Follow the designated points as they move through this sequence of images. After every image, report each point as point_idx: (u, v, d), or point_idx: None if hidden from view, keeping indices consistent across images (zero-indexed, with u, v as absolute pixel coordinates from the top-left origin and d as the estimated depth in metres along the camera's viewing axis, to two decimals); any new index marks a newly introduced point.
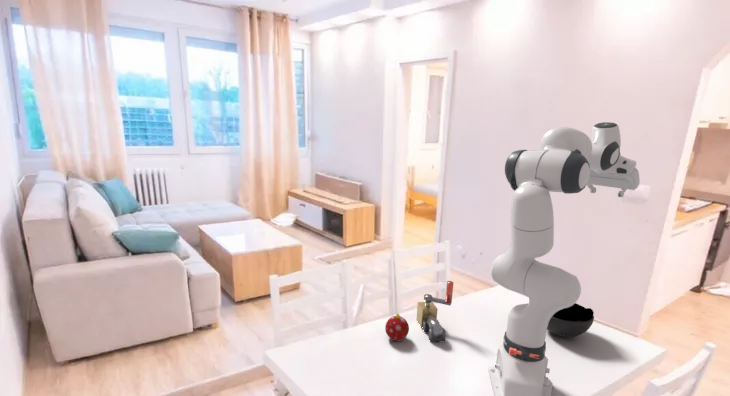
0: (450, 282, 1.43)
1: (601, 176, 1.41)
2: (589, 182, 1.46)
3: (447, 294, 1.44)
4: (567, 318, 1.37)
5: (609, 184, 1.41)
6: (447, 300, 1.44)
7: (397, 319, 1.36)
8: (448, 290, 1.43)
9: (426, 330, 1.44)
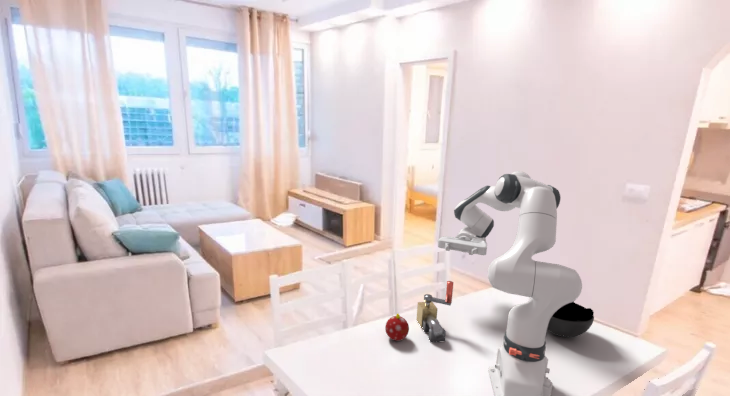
0: (450, 282, 1.43)
1: (460, 240, 1.61)
2: (449, 240, 1.60)
3: (447, 294, 1.44)
4: (567, 318, 1.37)
5: (465, 243, 1.58)
6: (447, 300, 1.44)
7: (397, 319, 1.36)
8: (448, 290, 1.43)
9: (426, 330, 1.44)
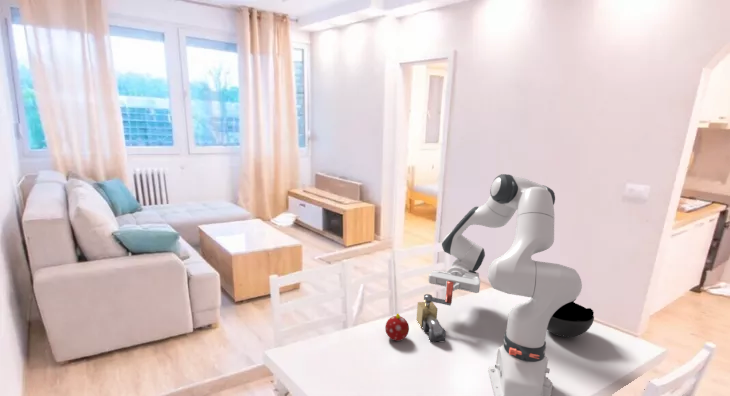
0: (450, 282, 1.43)
1: (452, 276, 1.53)
2: (440, 276, 1.52)
3: (447, 294, 1.44)
4: (567, 318, 1.37)
5: (457, 279, 1.49)
6: (447, 300, 1.44)
7: (397, 319, 1.36)
8: (448, 290, 1.43)
9: (426, 330, 1.44)
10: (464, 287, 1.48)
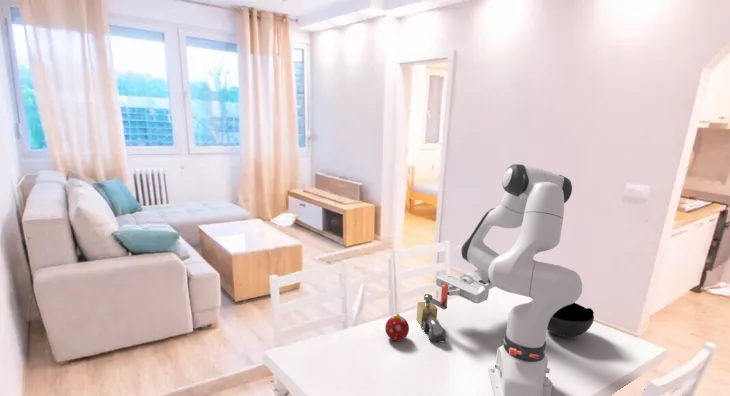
0: (445, 285, 1.40)
1: (460, 282, 1.48)
2: (446, 279, 1.49)
3: (441, 297, 1.41)
4: (567, 318, 1.37)
5: (460, 286, 1.44)
6: (441, 303, 1.41)
7: (397, 319, 1.36)
8: (442, 293, 1.40)
9: (426, 330, 1.44)
10: (465, 295, 1.41)
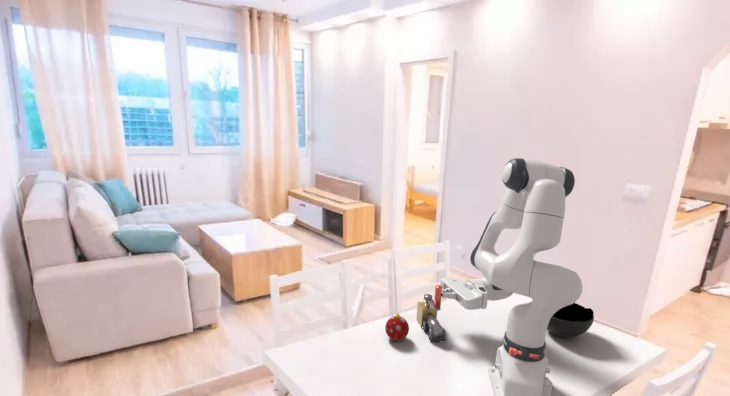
0: (438, 286, 1.39)
1: (461, 286, 1.43)
2: (448, 282, 1.46)
3: None
4: (567, 318, 1.37)
5: (457, 290, 1.40)
6: (434, 304, 1.40)
7: (397, 319, 1.36)
8: (435, 294, 1.39)
9: (426, 330, 1.44)
10: (460, 299, 1.37)
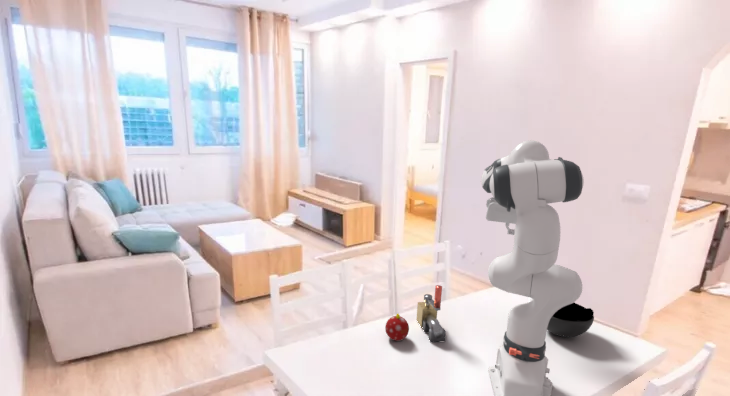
0: (438, 286, 1.39)
1: (510, 212, 1.45)
2: (498, 219, 1.47)
3: None
4: (567, 318, 1.37)
5: None
6: (434, 304, 1.40)
7: (397, 319, 1.36)
8: (435, 294, 1.39)
9: (426, 330, 1.44)
10: None
